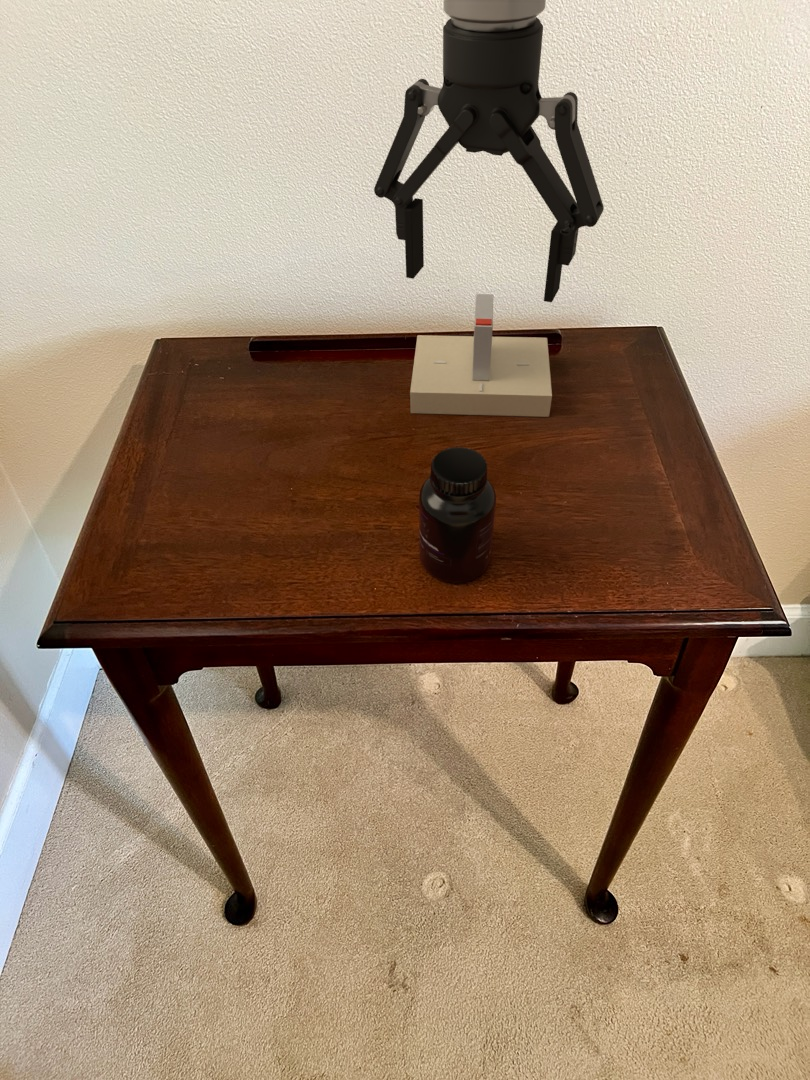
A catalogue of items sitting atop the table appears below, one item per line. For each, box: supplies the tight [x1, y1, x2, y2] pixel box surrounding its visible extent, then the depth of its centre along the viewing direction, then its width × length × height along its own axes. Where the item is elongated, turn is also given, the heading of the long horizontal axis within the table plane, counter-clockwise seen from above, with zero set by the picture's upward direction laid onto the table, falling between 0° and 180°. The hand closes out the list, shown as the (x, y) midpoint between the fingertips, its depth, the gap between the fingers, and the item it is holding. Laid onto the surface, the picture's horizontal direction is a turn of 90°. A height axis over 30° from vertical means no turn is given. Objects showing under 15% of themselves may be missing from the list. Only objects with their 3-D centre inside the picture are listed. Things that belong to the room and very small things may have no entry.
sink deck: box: [409, 334, 553, 418], centre depth 91 cm, size 16×12×3 cm
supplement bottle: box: [418, 446, 497, 584], centre depth 68 cm, size 7×7×12 cm
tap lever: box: [472, 293, 494, 381], centre depth 87 cm, size 7×2×7 cm, turn 175°
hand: (481, 283), depth 72 cm, fingers open, 13 cm apart
